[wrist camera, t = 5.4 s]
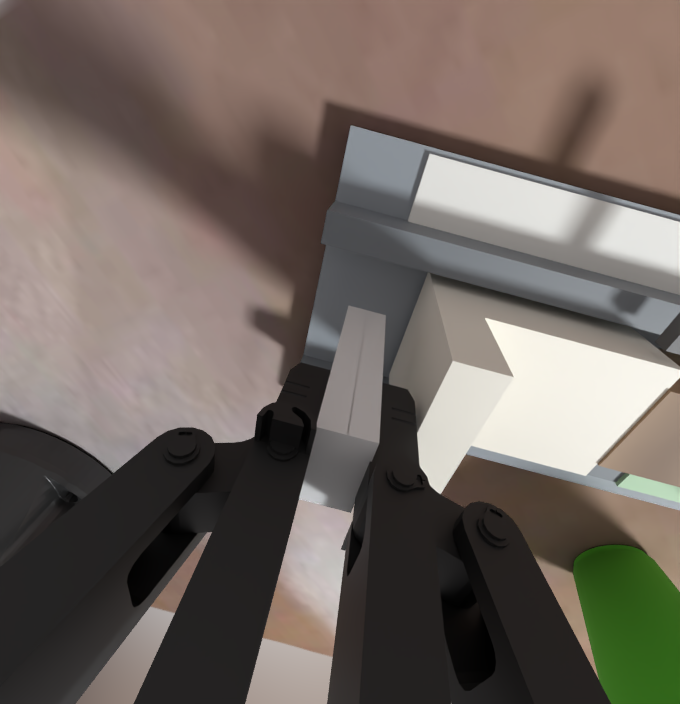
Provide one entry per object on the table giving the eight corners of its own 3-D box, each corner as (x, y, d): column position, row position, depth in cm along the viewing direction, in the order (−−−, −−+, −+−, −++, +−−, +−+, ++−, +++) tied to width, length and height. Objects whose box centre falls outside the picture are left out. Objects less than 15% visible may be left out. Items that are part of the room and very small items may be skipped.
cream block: (389, 374, 18) (386, 494, 12) (483, 125, 12) (572, 117, 6) (552, 417, 18) (632, 558, 12) (726, 192, 12) (1047, 248, 6)
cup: (538, 532, 25) (624, 767, 16) (693, 521, 22) (904, 793, 13) (545, 596, 29) (616, 811, 20) (677, 593, 27) (828, 838, 17)
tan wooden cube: (559, 402, 18) (599, 466, 14) (610, 335, 16) (670, 391, 12) (636, 422, 18) (693, 491, 14) (697, 359, 16) (781, 421, 12)
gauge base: (297, 395, 21) (250, 522, 14) (353, 125, 14) (313, 117, 7) (709, 503, 22) (858, 679, 15) (986, 298, 14) (1565, 460, 7)
